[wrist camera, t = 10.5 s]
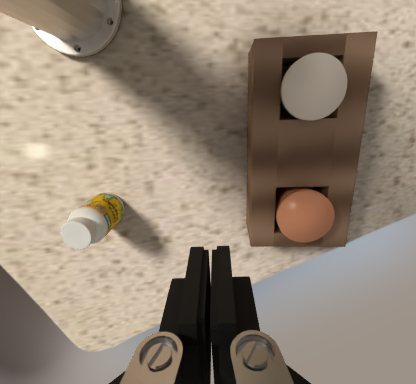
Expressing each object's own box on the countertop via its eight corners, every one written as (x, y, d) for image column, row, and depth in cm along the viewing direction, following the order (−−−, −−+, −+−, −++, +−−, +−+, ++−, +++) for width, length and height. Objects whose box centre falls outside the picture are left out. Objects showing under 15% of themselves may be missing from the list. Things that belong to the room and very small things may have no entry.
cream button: (273, 65, 30) (284, 54, 24) (327, 62, 30) (351, 50, 24) (270, 119, 32) (280, 121, 26) (321, 118, 32) (343, 119, 26)
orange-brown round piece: (269, 178, 34) (279, 192, 28) (318, 177, 33) (337, 191, 27) (268, 221, 36) (276, 242, 30) (313, 221, 35) (331, 242, 29)
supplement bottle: (86, 201, 40) (45, 227, 31) (112, 185, 39) (78, 208, 30) (106, 227, 41) (72, 260, 32) (132, 213, 40) (104, 243, 31)
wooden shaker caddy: (248, 54, 32) (254, 38, 25) (344, 48, 31) (377, 31, 24) (246, 223, 39) (250, 246, 33) (324, 223, 38) (345, 246, 32)
